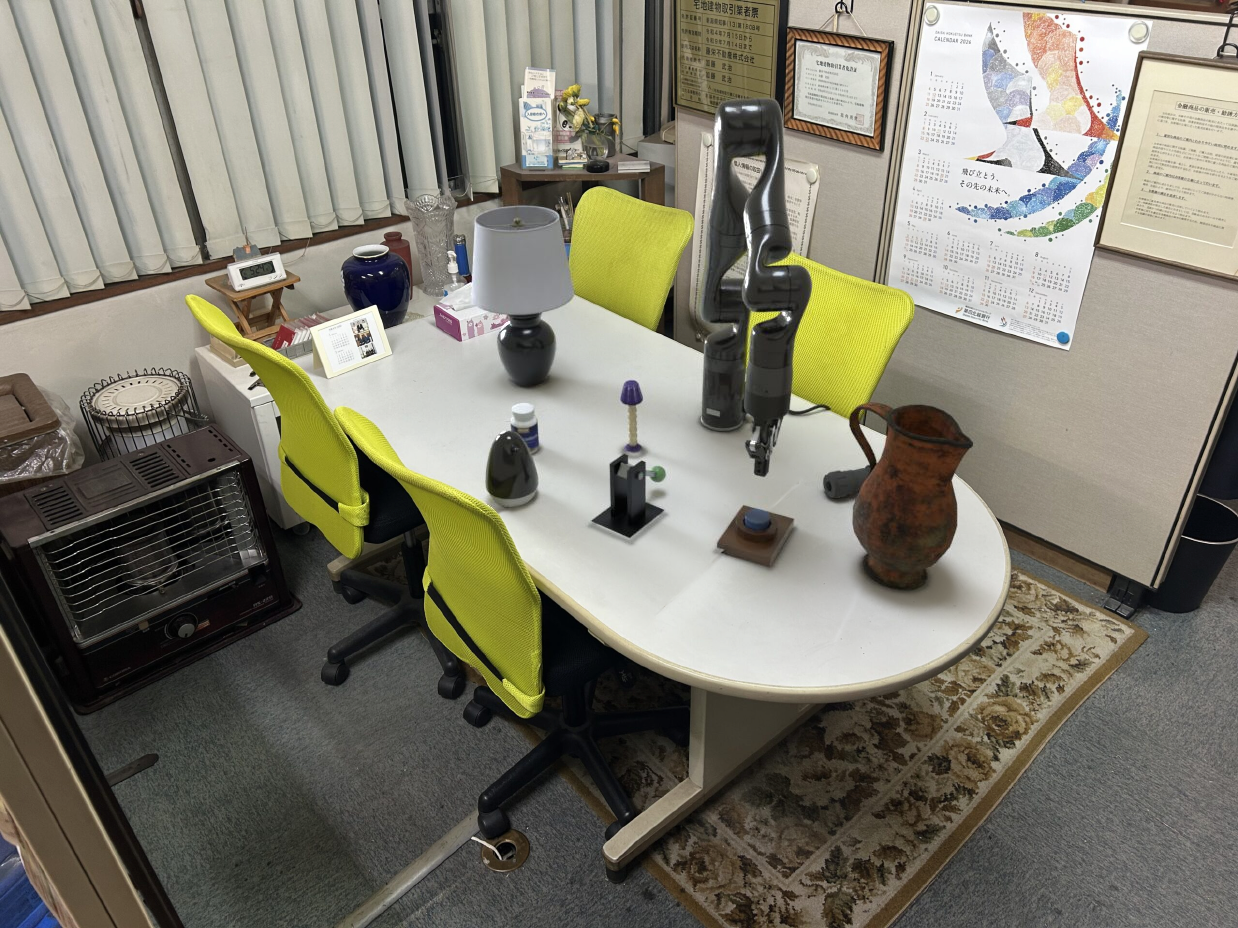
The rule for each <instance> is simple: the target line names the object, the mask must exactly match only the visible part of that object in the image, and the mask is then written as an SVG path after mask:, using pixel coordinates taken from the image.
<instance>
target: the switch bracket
mask: <svg viewBox="0 0 1238 928" xmlns="http://www.w3.org/2000/svg"><path fill="white" fill-rule="evenodd" d="M621 463H629V455H628V454H626V453H622V454H621V455H620V456H618V457H617V458H616V459H614V460H612V461H611V462H610V463H609V497H610V498H609V500H610V501H609V502H610V503H609V504H610V506H609V507H607V508H605V510H603V511H602V512H601V513H599V514H598V515H596V516H595V517H594V518H592V520H591V522H592V523H594V524H597V525H599V526H601V527H603V528H605V529H608V530H611V531H612V532H615V533H616V534H619V535H622V536H624V537H626V538H628V539H631V538H632V537H633V536H635V535H636V534H637V533H638V532H640V531H641V530H642V529H643V528H644V527H646V526H647V525H649V523H651V522H652V521H654V519H656V518H657V517H658V516H659V515H661V514H662V513H663V512H664V511H665V509H664V508H661V507H660V506H657V505H654V504H652V503H649V502H647V501H646V500H647V499H646V497H647V492H646V491H647V487H646V486H647V476H646V470H647V466H646V465H647V462H646V461H644V460H640V461H638V462H637V463H636V464H633V465H634V466H633V467H632V468H630V469H629V470H627V479H626V478H623V477H621V476H618V475H617V474H618V471H619V467H620V464H621Z"/></svg>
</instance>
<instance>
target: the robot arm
mask: <svg viewBox="0 0 1238 928" xmlns="http://www.w3.org/2000/svg"><path fill="white" fill-rule="evenodd" d="M784 130H785V129H784V121H783V113H782V109H781V107H780V104H779V102H778V101H777V100H776V99H775V98H772V97H753V98H752V97H751V98H750V97H749V98H733V99H726V100H723V101H721V102H720V103H719V104H718V105H717V108H716V111H715V115H714V122H713V143H712V145H713V146H712V147H713V149H712V154H713V155H712V178H711V179H712V180H711V181H712V182H711V190H710V199H709V204H708V205H709V206H708V213H707V224H706V238H705V256H704V265H703V271H702V277H701V281H700V286H699V287H700V288H699V294H698V313H699V317H700V318H701V320H702V321H703V322H705V323H707V324H728V325H727V326H726V327H724V328H722V329H719V330H716V331H713V332H712V333H709V334H708V335H707V336H706V337H705V339H704V342H703V343H704V344H703V364H702V365H703V366H702V367H703V369H702V387H701V388H702V391H701V392H702V393H701V412H700V414H701V415H700V423H701V424H702V426H704V427H705V428H707V429H709V430H712V431H715V432H716V431H717V432H730V431H731V432H732V431H735V430H737V429H739V428H741V427H742V425H743V424H744V423H745V422H746V421H747V415H749V416H750V417H752V419H753V420H751V422H750V426H749V431H750V432H751V435H750V437H751V438H750V439H746V440H745V442H744V447H745V449H746V452H747V455H748V457H749V459H752V460H754V464H753V474H754V475H755V476H757V477H760V478H761V477H762V478H765V477H766V476H767V475H768V474H769V472H770V460H771V455H772V454H773V451H774V450H773V448H775V447H776V445H777V441H778V437H779V434H780V431H781V427H782V423H783V420H784V417H786V416H787V414H791V415H805V414H808V413H810V412H813V411H815V410H818V409H826V411H831V410H832V408H831V407H830V406H829V405H827V404H824V403H823V404H822V403H820V404H816V405H813V406H811V407H809V408H807V409H803V410H793V409H790V408H791V400H792V391H793V390H792V389H793V379H794V365H793V363H794V353H795V342H796V337H797V333H798V330H799V327H800V325H801V321H802V319H803V317H804V315H805V312H806V311H807V307H808V306H809V302H810V300H811V296H812V292H813V280H812V275H811V274H810V271H809V270H808V269H807V268H806V267H805V266H803V265H802V264H801V265H800V264H780V265H779V264H777V263H779V262H781V261H784V260H785V259H786V258H788V257H789V256H790V254H791V253H792V251H793V238H792V232H791V226H790V221H789V220H790V219H789V215H788V209H787V198H786V157H785V154H786V153H785V133H784ZM759 157H764V164H763V165H764V166H763V169H762V171H761V173H760V175H759V177H758V179H757V181H756V183H755V185H754V186H753V187H752V189H751V191H750V190H749V189H748V187H747V186H746V184H744V182H743V181H742V180H741V177H740V176H739V175H738V172H737V171H736V168H735V166H734V163H733V161H734V160H735V159H745V158H759ZM745 255H746V266H745V271H744V277H726V278H724V276H725V275H726V273H727V272H729V270H730V269H732V268H733V267H734V266H735V265H736V264H737V263H739V261H740V260H741V259H742V258H743V257H744V256H745ZM774 264H775V265H774ZM752 312H753V313H778V312H779V313H778V314H777V315H776V316H774V317H772V318H769V319H765V320H762V321H759V322H757V323H756V324H754V325H753V326H752V327H751V331H750V323H751V316H752ZM749 332H750V335H749ZM749 336H750V337H749ZM748 345H749V347H748ZM748 348H749V349H748ZM747 359H748V360H747Z"/></svg>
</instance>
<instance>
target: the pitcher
mask: <svg viewBox="0 0 1238 928" xmlns="http://www.w3.org/2000/svg"><path fill="white" fill-rule="evenodd" d="M862 410H864V411H868V412H870V413H874V414H876V415H877V416H879V418H881V419H882V420H884V421H885V422H886V427H885V430H886V431H885V436H886V437H885V443H884V447H883V449H882V453H881V456H880V458H879V460H878V461H877V458H876V454H875V452H874V450H873V448H872V446H871V444H870V442H869V440H868V439H867V437H866V436H865V434H864V431H863V429H862V427H861V424H860V417H859V416H860V413H861V411H862ZM848 426H849V430H850V432H851V433H852V436H853V437H854V439H855V441H856V442H857V444H858V446H859V448H860V449H861V450H862V452H863V454H864V456H865V457H866V460H867V462H868V465H870V473H869V475H868V476H867V478H866V480H865V482H864V483H863V484H862V487H861V489H860V491H858V492H857V495H856V497H855V500H854V503H853V506H852V518H851V519H852V523H851V524H852V528H853V533H854V535H855V537H856V539H857V541H858V542H859V545H860V546H861V547H862V548H863V549H864V551H865V552H866V554H865V555H864V556H863V560H862V563H861V564H862V567H863V570H864V572H865V573H866V574H867V576H868V577H869V578H871V579H872V580H873V581H875V582H876V583H879V584H881V585H882V586H885V587H888V588H892V589H894V590H895V589H896V590H901V591H911V590H916V589H919V588H921V587H922V586H923V585H925V584H926V583H927V580H928V571H927V569H928V568H931V567H932V566H934V565H935V564H937V563H938V561H939V560H941V558H942V557H943V556H944V555H945V554H946V553H947V552H948V550H949V549H950V548H951V546H952V543H953V540H954V538H955V535H956V532H957V528H958V501H957V496H956V492H955V489H954V484H953V479H954V476H955V473H956V471H957V469H958V468H959V465H960V463H962V461H963V458H964V457H965V455H966V454H967V452H969V449H972V448H973V446H974V442H973V440H971V437H969V436H968V435H966V434H965V433H964V432H963V430H962V429H961V426H960V425H959V423H958V422H957V421H956V420H955V418H954V417H953V416H952V415H951V414H950V413H948V412H947V411H945V410H944V409H941V408H938V407H936V406H932V405H927V404H922V403H921V404H905V405H901V406H898V407H896V408H893V407H891V406H889V405H887V404H885V403H881V402H866V403H862V404H859V405H857V406H856V407H854V409H853V410H852V411H851V413H850V414H849V417H848Z"/></svg>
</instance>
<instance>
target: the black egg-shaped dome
mask: <svg viewBox="0 0 1238 928" xmlns="http://www.w3.org/2000/svg"><path fill="white" fill-rule="evenodd" d="M485 466H486V467H485V476H484V477H485V478H484V480H485V481H484V482H485V489H486V491H487V493H488V494H489V496H490V498H491V499H492V500H493V502H495V503H496V504H497V505H499V506H501V507H504V508H514V507H520V506H523V505H525V504H527V503H530V501H531V500H532V499H533V498H534V496H535V495H536V492H537V490H538V487H539V484H540V483H539V475H538V470H537V466H536V463H535V461H534V457H533V455H532V454H531V452H530V450H529V448H528V446H527V444H526V442H525V441H524V440H523V438H522V437H521V436H520V435H519V434H518V433H516V432H514V431H511V430H504V431H502V432H500V433H499V434H497V435H496V437H495V438H494V440H493V442H492V444H491V446H490V448H489V452H488V455H487V460H486V465H485Z"/></svg>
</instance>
